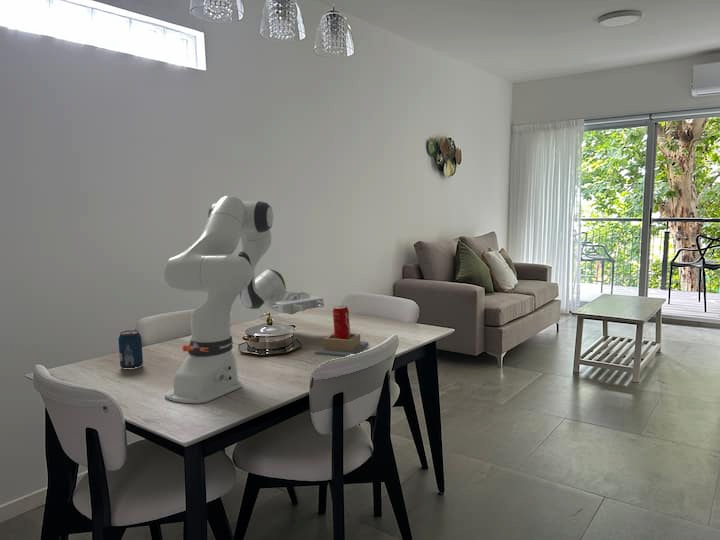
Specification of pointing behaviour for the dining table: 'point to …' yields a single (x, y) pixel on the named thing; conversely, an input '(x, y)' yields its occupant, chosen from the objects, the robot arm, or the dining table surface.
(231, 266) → the robot arm
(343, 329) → the beverage can
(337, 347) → the can stand
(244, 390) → the dining table surface
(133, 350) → the soda can
